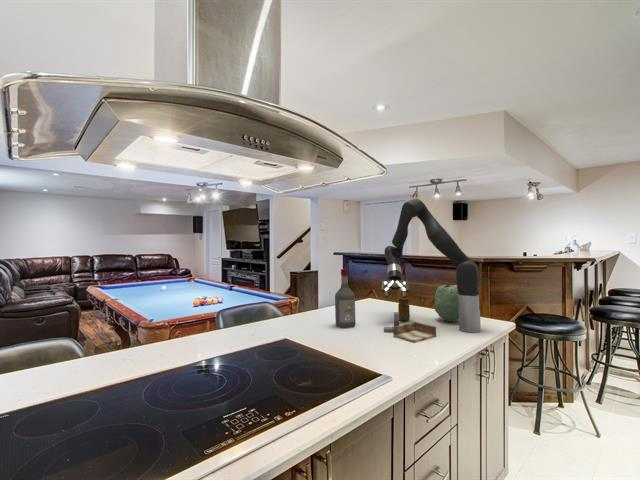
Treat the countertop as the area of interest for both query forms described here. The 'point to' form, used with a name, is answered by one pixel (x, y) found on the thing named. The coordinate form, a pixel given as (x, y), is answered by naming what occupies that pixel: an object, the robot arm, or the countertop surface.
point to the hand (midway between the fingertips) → (395, 297)
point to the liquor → (345, 303)
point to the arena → (414, 336)
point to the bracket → (396, 323)
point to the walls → (414, 328)
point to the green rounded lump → (447, 302)
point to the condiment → (404, 310)
